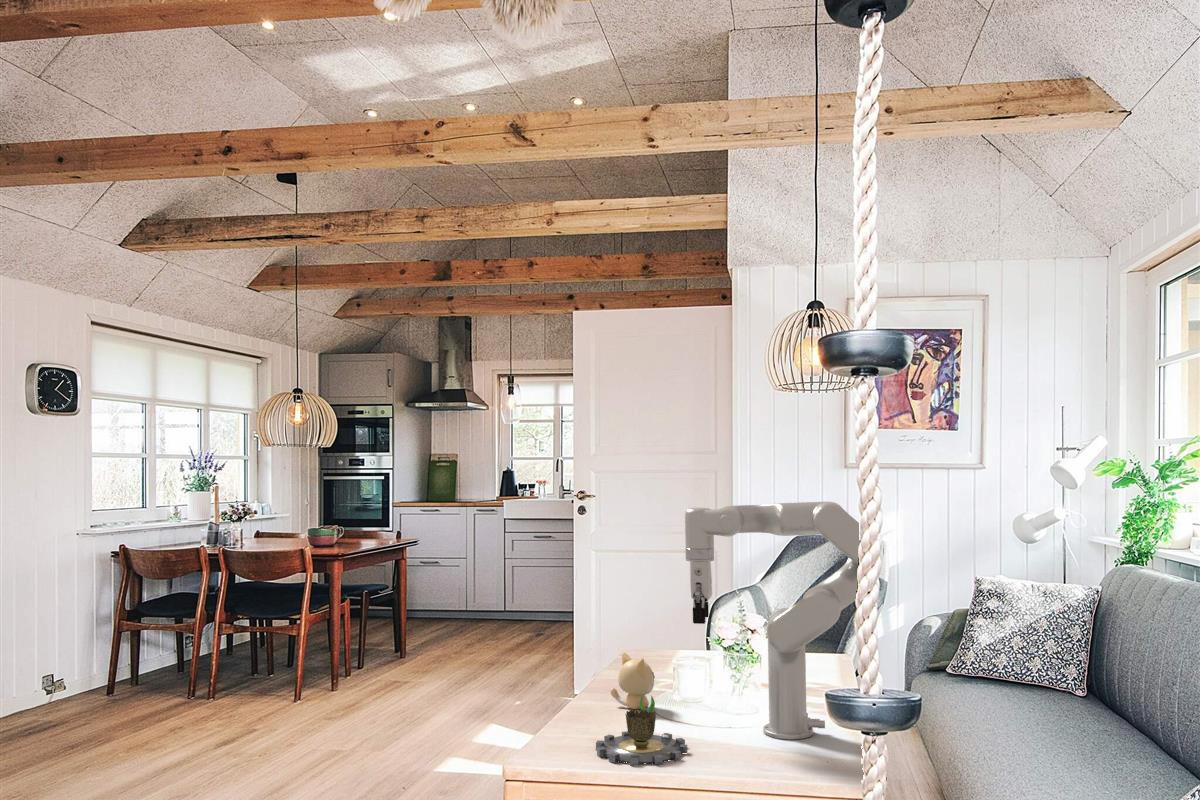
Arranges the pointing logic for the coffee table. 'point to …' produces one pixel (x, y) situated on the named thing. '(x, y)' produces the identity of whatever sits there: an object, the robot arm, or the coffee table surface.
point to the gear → (641, 749)
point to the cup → (640, 726)
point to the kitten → (635, 683)
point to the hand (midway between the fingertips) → (700, 620)
